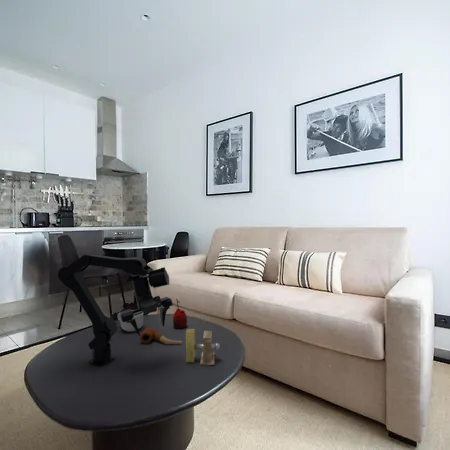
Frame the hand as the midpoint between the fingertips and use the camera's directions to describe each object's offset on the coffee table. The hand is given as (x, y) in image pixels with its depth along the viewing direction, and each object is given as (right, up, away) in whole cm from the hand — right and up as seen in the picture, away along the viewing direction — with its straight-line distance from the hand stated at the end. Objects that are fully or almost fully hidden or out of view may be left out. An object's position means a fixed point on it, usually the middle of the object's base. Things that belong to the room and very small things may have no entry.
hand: (151, 330), depth 105 cm
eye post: (+21, -11, 0) cm, 24 cm away
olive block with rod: (+20, -11, 0) cm, 22 cm away
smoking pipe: (0, -12, +17) cm, 21 cm away
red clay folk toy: (+5, -11, +34) cm, 37 cm away
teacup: (-19, -11, +32) cm, 39 cm away
